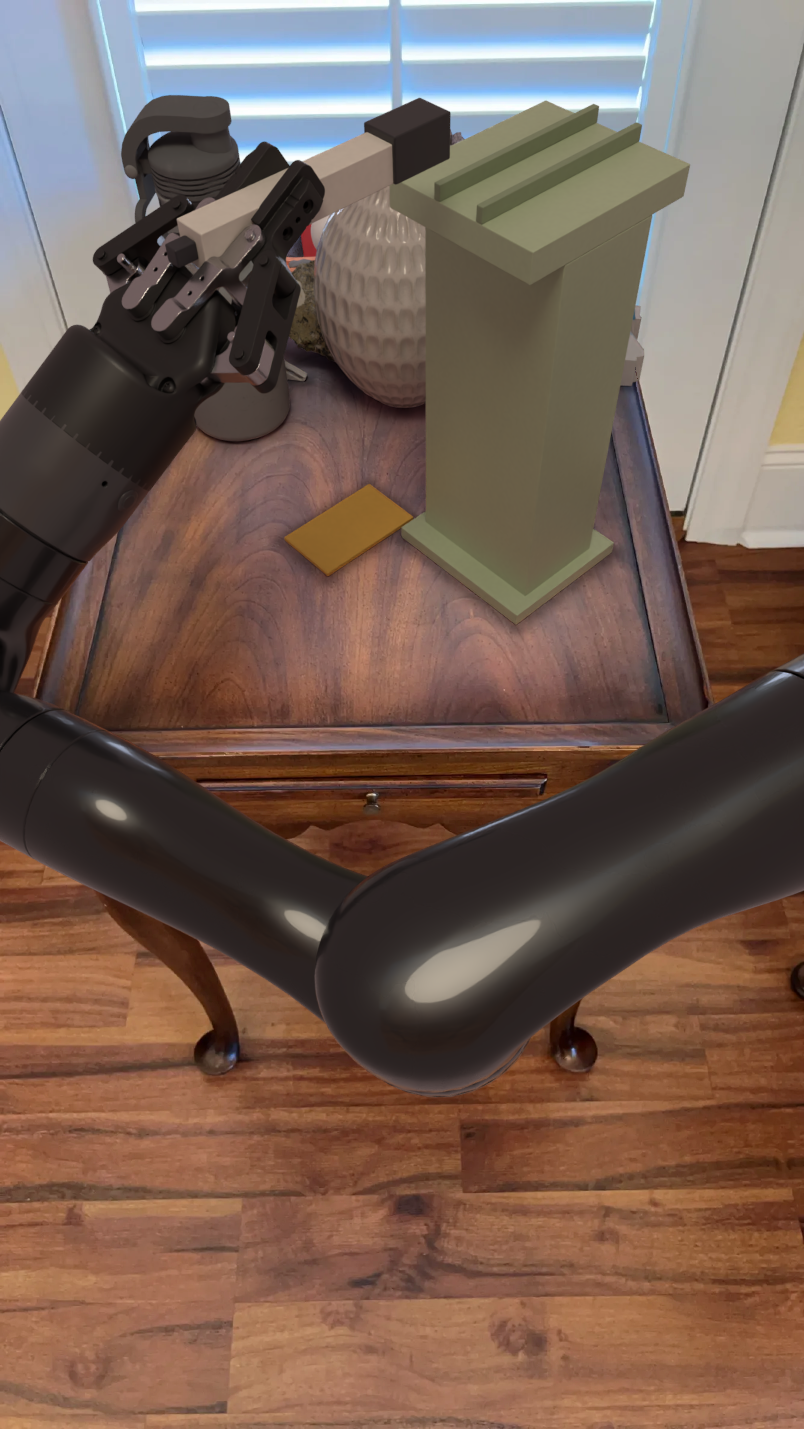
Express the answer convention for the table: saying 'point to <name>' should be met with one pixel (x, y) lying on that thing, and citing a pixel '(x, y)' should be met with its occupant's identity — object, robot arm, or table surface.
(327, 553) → the mat
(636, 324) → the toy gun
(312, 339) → the rock
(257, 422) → the water bottle
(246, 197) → the marker
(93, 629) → the table surface
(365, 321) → the vase
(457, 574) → the green railed pedestal
